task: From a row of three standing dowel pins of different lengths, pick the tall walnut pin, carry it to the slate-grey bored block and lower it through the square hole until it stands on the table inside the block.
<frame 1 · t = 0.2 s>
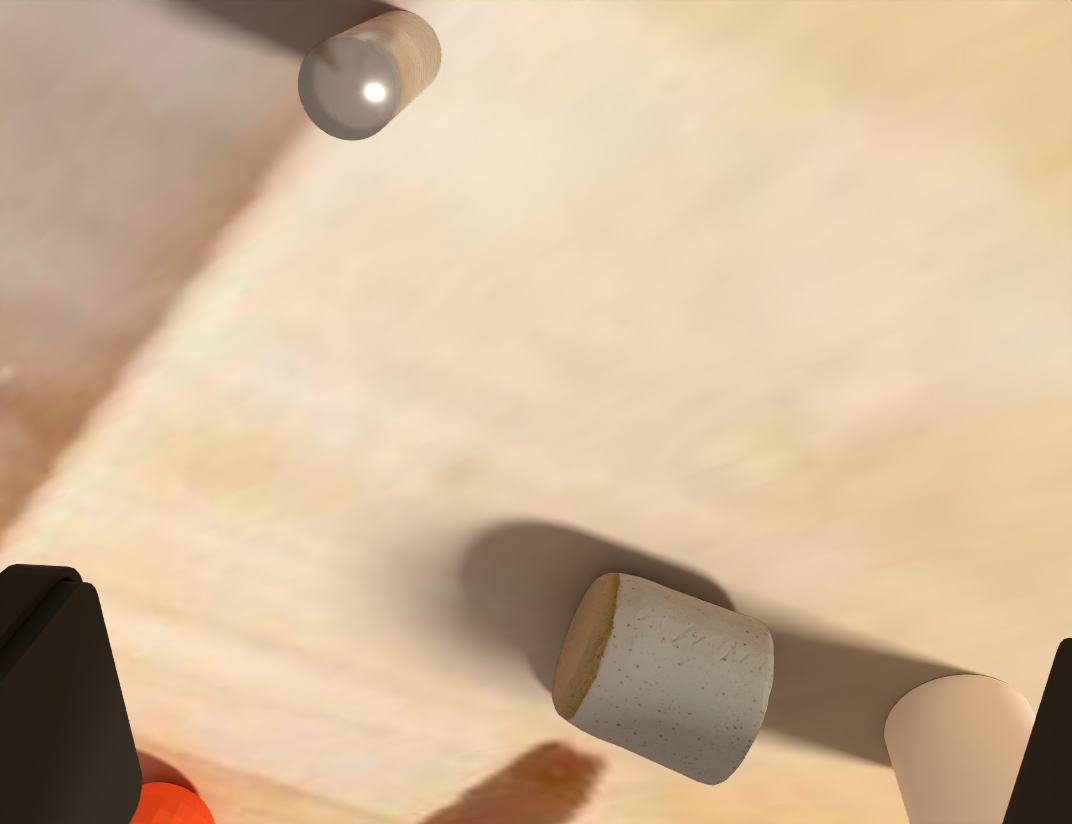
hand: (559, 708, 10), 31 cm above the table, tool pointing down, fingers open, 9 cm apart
medium pin: (401, 53, 37), on the table
cylindrical container: (956, 726, 50), on the table
clementine: (186, 798, 57), on the table
ceramic mug: (650, 637, 49), on the table
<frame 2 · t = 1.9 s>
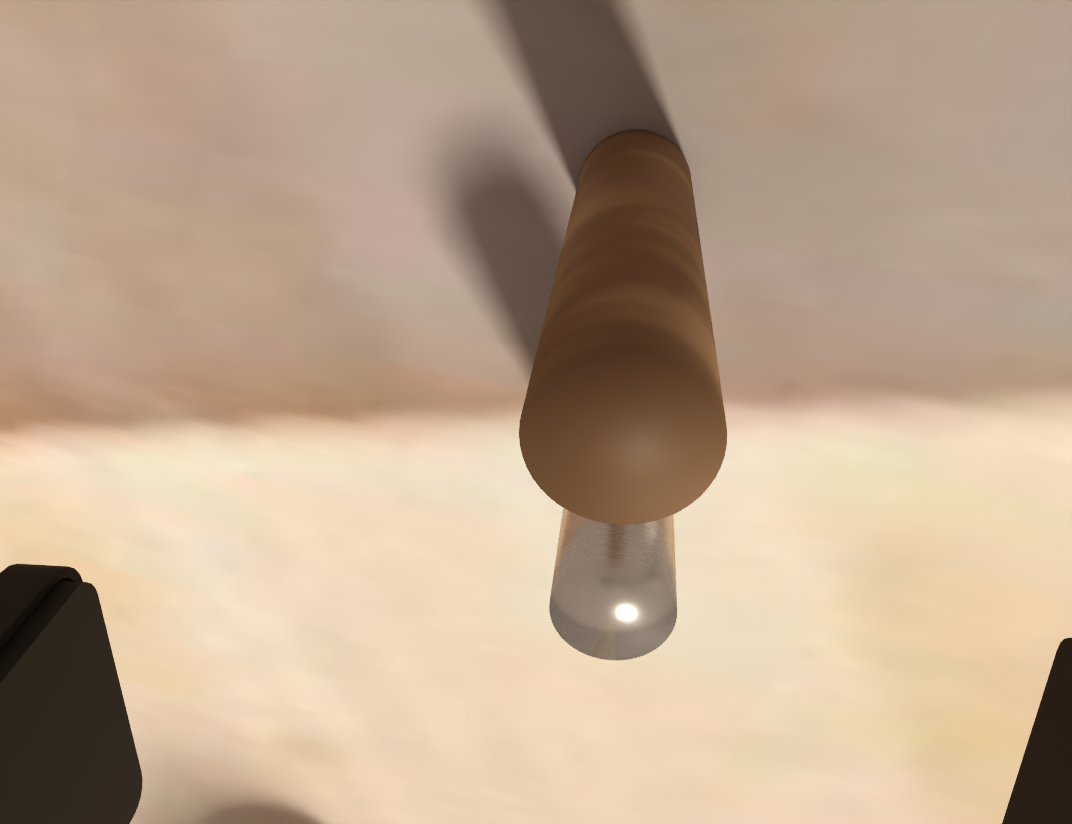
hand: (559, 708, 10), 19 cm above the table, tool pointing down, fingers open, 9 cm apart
medium pin: (621, 444, 30), on the table
long pin: (634, 186, 27), on the table
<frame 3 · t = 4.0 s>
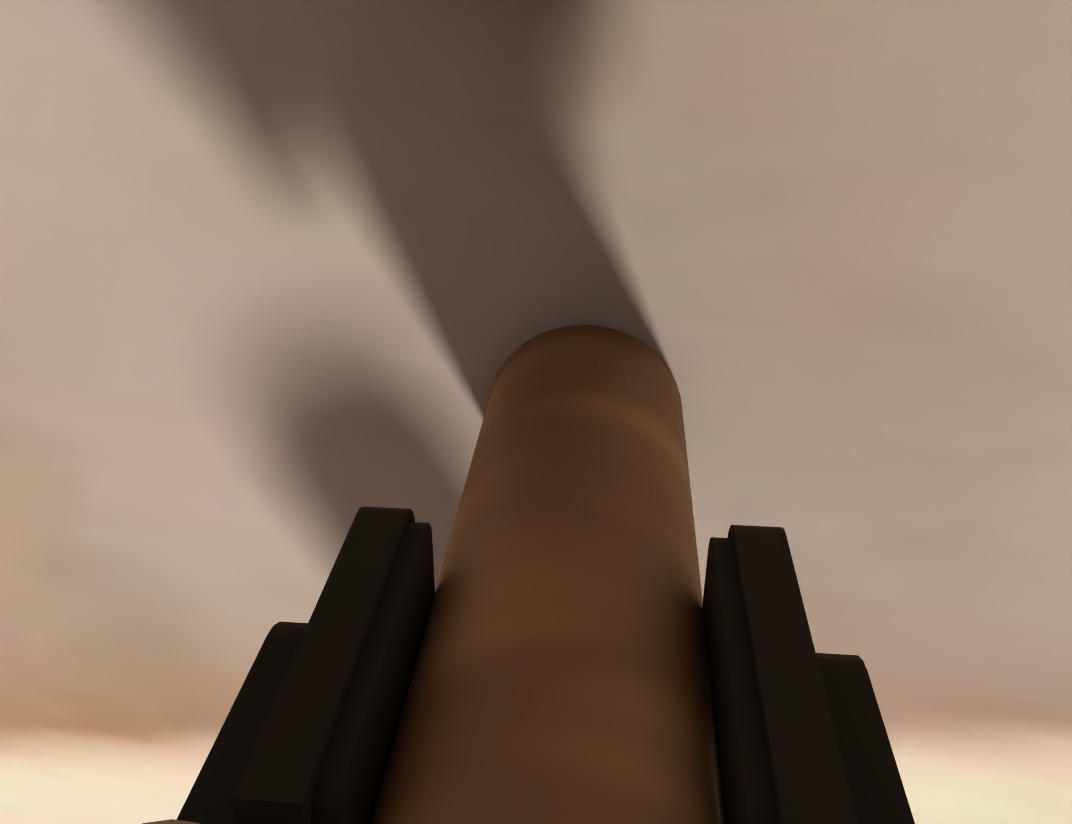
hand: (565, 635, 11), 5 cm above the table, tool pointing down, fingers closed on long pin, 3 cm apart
long pin: (584, 415, 15), on the table, touching gripper
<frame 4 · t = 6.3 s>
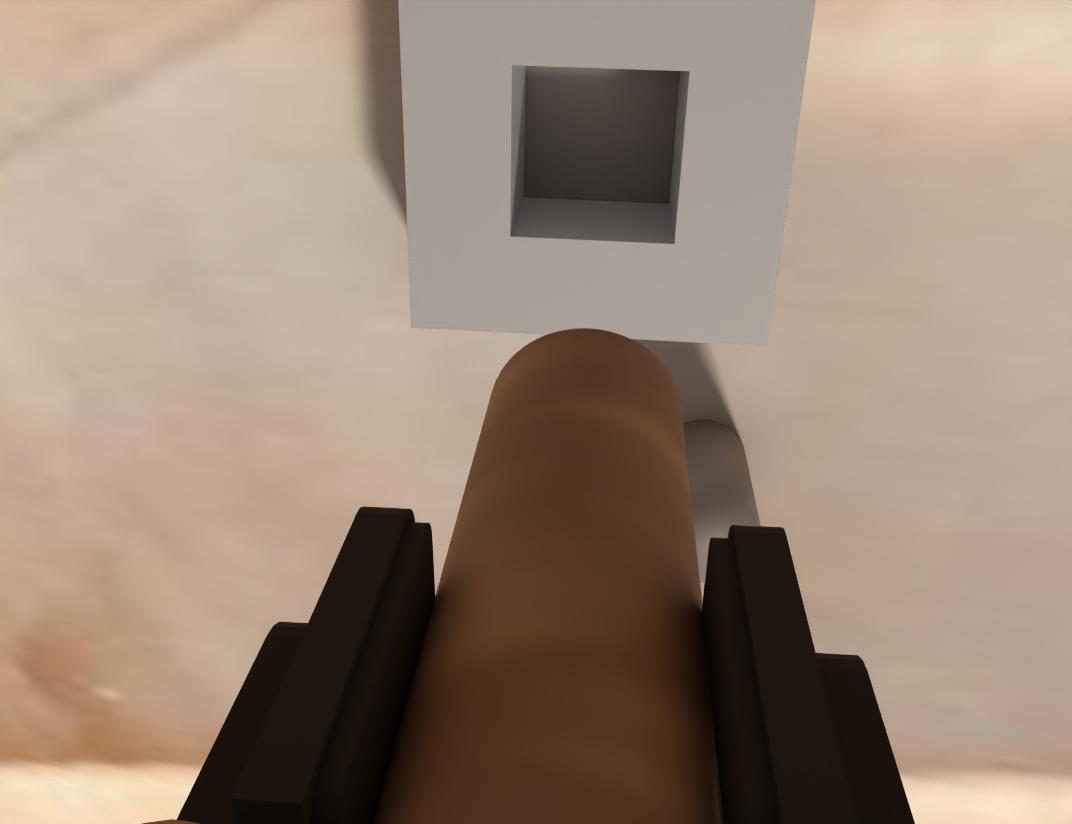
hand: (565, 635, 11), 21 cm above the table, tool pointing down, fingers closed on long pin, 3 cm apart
short pin: (700, 458, 34), on the table
hole block: (599, 126, 29), on the table
long pin: (584, 417, 15), point 16 cm above the table, touching gripper
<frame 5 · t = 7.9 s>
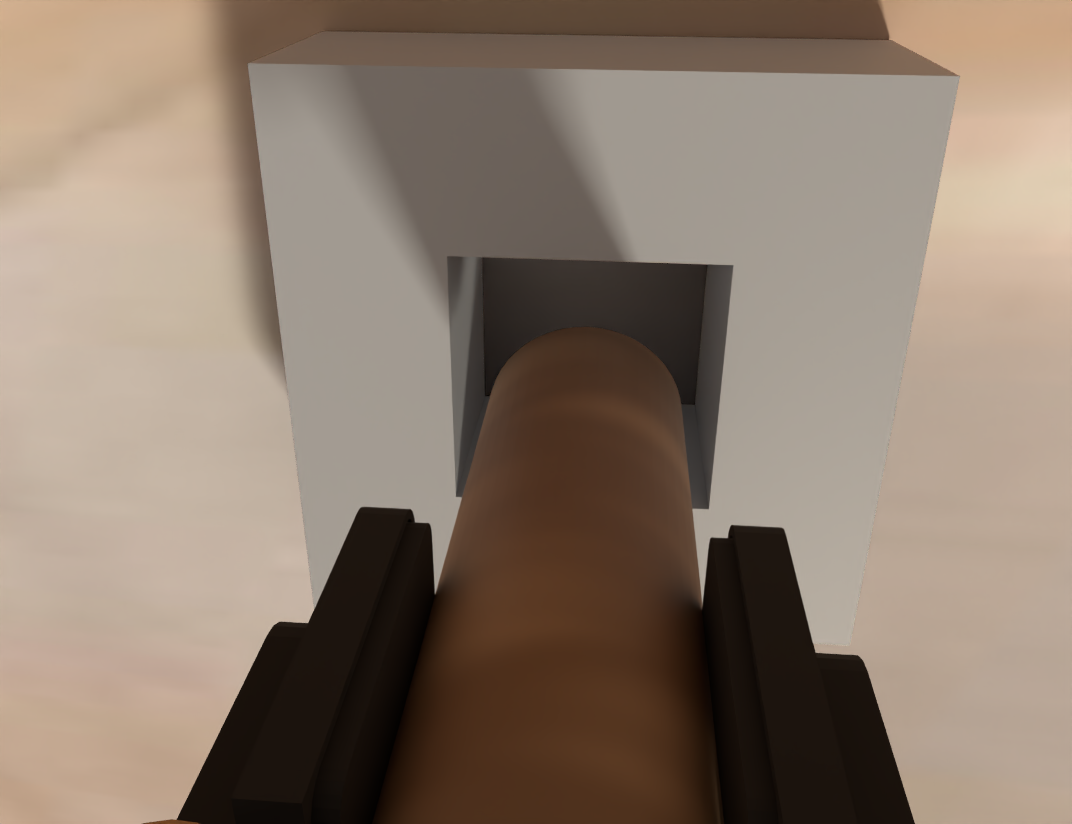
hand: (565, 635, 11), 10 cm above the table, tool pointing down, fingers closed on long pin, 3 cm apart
hole block: (592, 301, 20), on the table
long pin: (584, 416, 15), point 5 cm above the table, touching gripper
when the fingers open (6 cm above the table, at t = 9.0 s): long pin stays where it is, resting in hole block.
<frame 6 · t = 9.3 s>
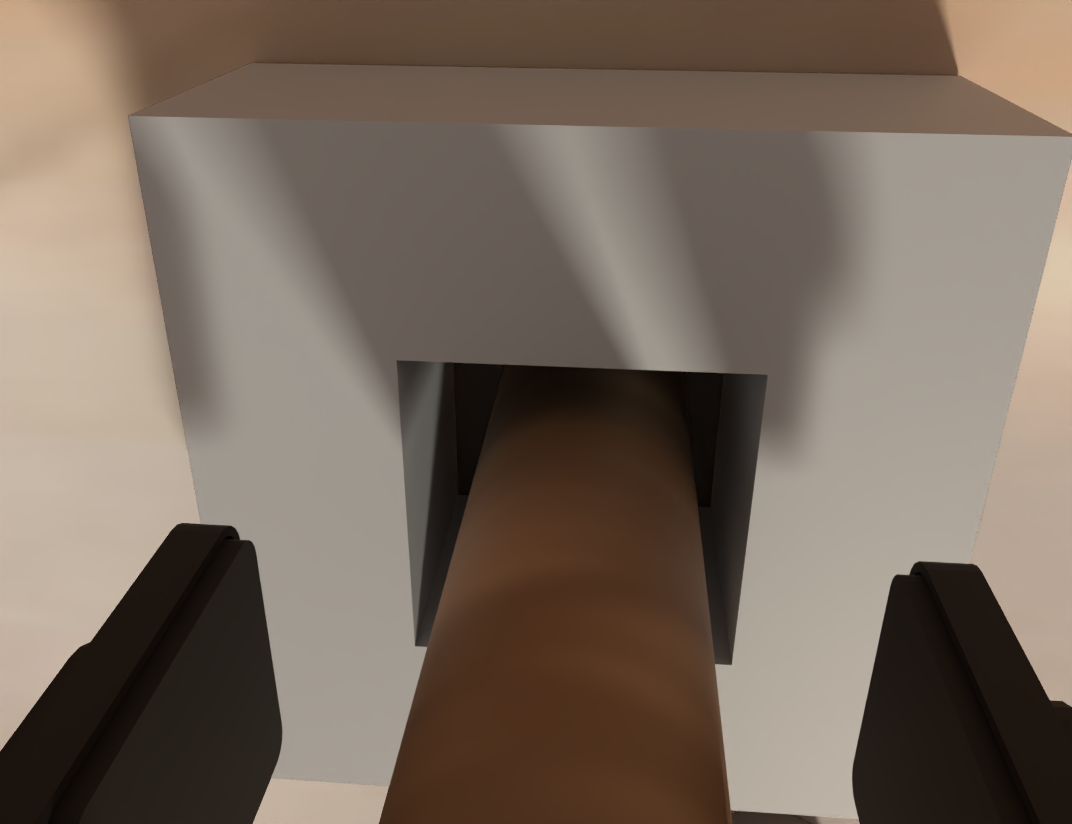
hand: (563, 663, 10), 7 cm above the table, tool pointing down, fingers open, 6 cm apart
hole block: (586, 387, 16), on the table
long pin: (592, 389, 16), resting in hole block
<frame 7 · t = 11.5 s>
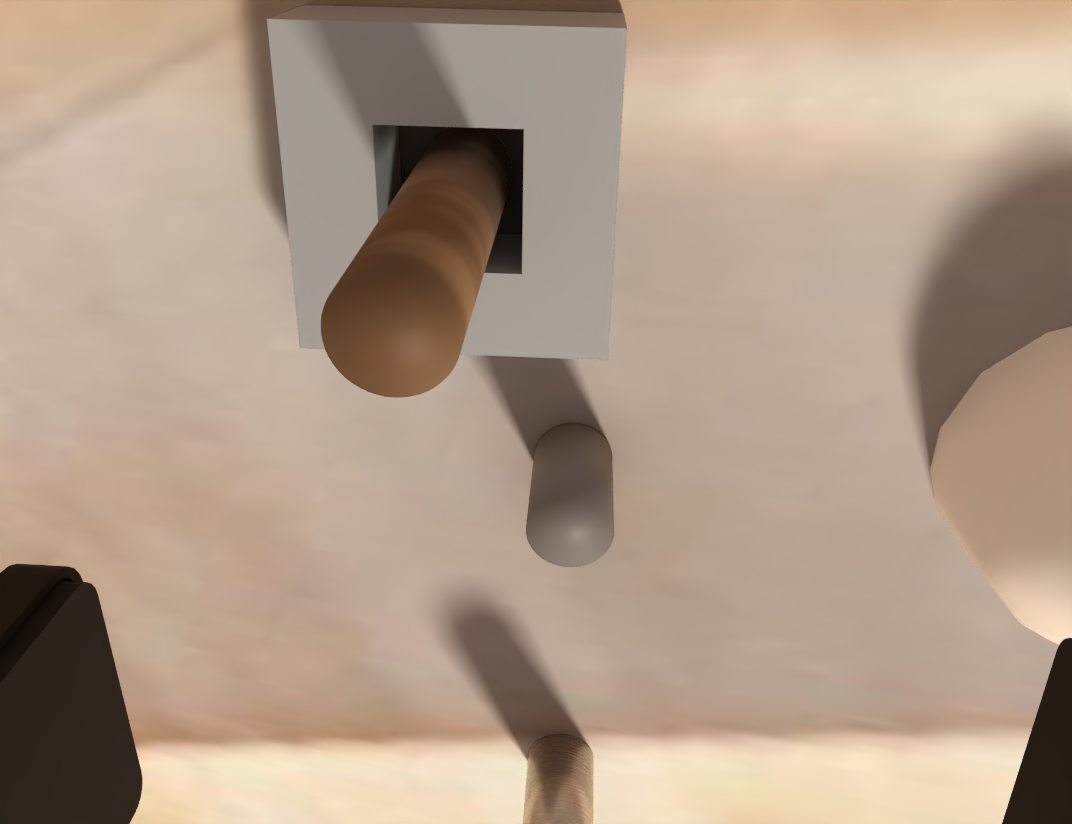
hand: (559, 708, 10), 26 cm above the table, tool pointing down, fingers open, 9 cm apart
medium pin: (560, 758, 46), on the table
short pin: (573, 457, 38), on the table
hole block: (465, 169, 33), on the table
long pin: (468, 170, 33), resting in hole block
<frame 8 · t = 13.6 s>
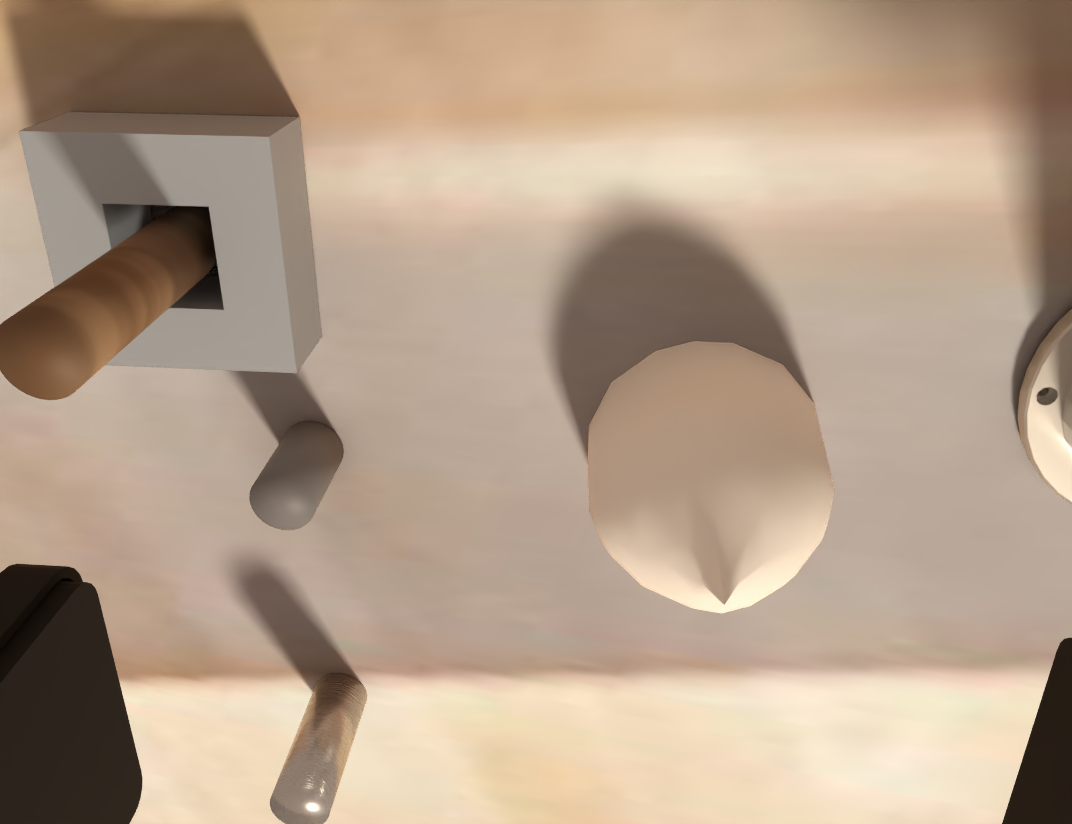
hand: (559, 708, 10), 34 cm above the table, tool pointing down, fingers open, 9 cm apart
medium pin: (341, 693, 56), on the table
teardrop: (702, 444, 47), on the table
short pin: (313, 447, 49), on the table
hole block: (201, 229, 44), on the table
long pin: (203, 230, 44), resting in hole block
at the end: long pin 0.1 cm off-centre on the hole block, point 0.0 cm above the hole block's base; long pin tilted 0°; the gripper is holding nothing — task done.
